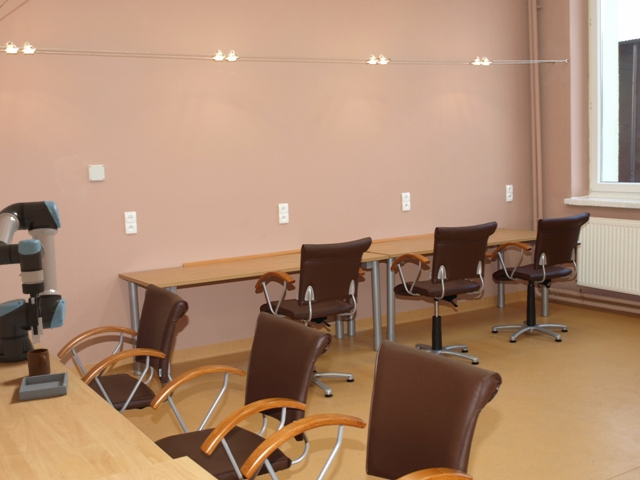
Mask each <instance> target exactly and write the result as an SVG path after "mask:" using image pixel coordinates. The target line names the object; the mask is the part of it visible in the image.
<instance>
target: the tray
mask: <svg viewBox="0 0 640 480" xmlns="http://www.w3.org/2000/svg"><path fill="white" fill-rule="evenodd" d="M68 377H69V376H68V371H64V372H59V373H58V372H57V373H56V372H55V373H50V374H48V375H40V376H32V377H30V376H25V377H23V378H22V380H21V385H20V387H19V391H18V395H19V401H20V402H22V401H28V400H29V401H30V400H35V399H36V400H38V399H43V398H45V399H46V398H49V397H50V398H51V397H58V396H65V395H67V394H68V385H69V378H68Z"/></svg>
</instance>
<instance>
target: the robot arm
mask: <svg viewBox="0 0 640 480" xmlns="http://www.w3.org/2000/svg"><path fill="white" fill-rule="evenodd" d="M60 228H62V223H61V217H60V213H59V209H58V206H57V203H56V202H55V201H54V200H53V201H52V200H41V201H40V200H39V201H28V202H22V201H21V202H14V203H12V204H9V205H7V206H5V207H4V208H2V209H1V210H0V266H5V265H6V266H7V265H18V264H19V266H20V273H19V275H18V277H20V279H21V282H22V283H21V289H22V290H21V291H22V294H23V295H29V297H28V300H26V299H25V298H16V299H11V300H8V301H4V302H1V303H0V363H12V362H20V361H25V360H27V352H28V351H30V350H34V349H35V347H34V345H35V344H37V345H38V344H41V343H42V341H41V336H44V331H43V330H47V329H48V330H49V329H51V330H53V329H57V328H61V327H63V326H64V324H65V319H66V310H67V308H66V307H67V305H66V304H67V303H66V299H65V298H62V294H61V293H60V292H58V280H57V279H58V278H57V265H56V262H57V261H56V246H55V244H56V243H55V236H56V235H57V234H58V229H60ZM17 231H28V235H30V236H31V237H32V238H31V239H22V240H20V241H18V243H13V239H14V236H15V233H16V232H17ZM29 331H31V338H30V333H29ZM31 339H32V340H31Z"/></svg>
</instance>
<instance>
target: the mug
mask: <svg viewBox="0 0 640 480" xmlns="http://www.w3.org/2000/svg"><path fill="white" fill-rule="evenodd" d="M50 359H51V358H50V352H49V349H48V348H34V350H30V351H28V352H27V359H26V361H27V368H28V370H27V371H28V377H32V376H40V375H48V374H51V372H52V371H51V361H50Z"/></svg>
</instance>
